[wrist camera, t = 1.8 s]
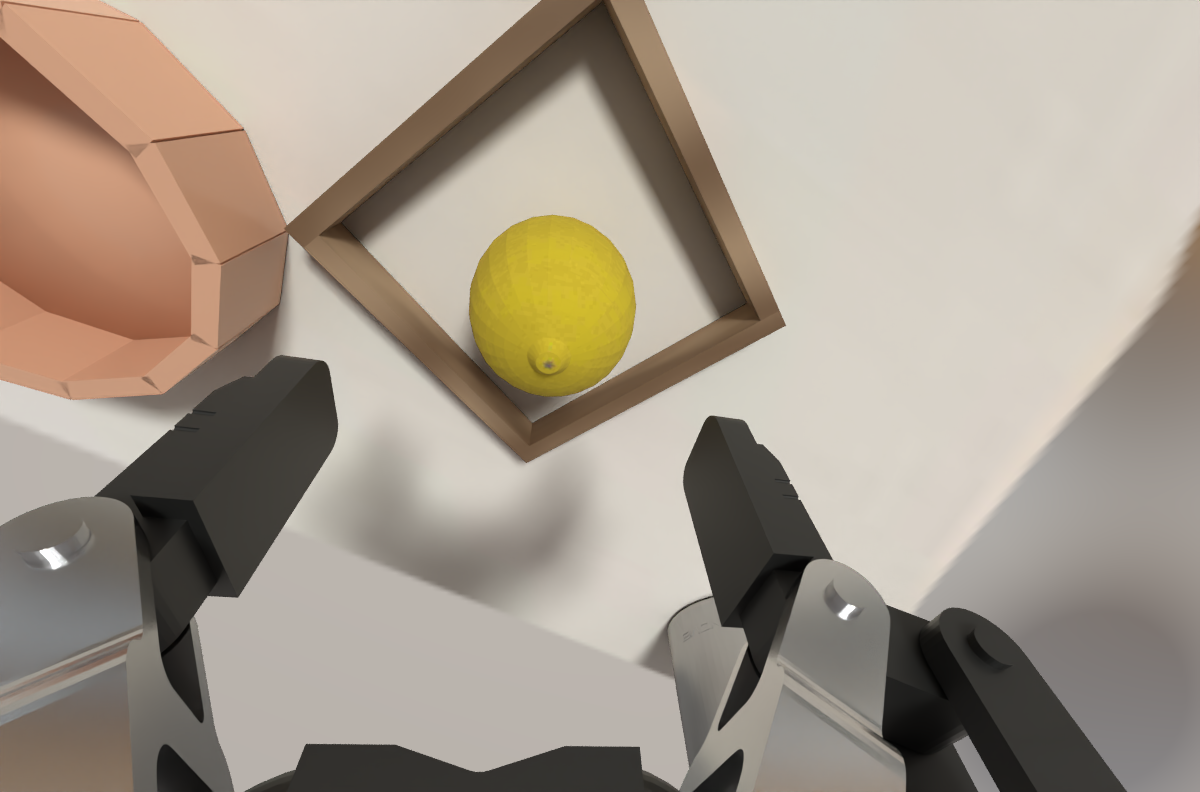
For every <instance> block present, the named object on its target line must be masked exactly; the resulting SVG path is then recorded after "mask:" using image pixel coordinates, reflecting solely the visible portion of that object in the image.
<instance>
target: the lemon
mask: <svg viewBox="0 0 1200 792" xmlns="http://www.w3.org/2000/svg"><path fill="white" fill-rule="evenodd" d="M635 310H636V303H635V295H634V287H633V280H632V278H631V275H630V273H629V270H628V268H627V265H626V263H625V260H624V258H623V257H622V255H621V254H620V253H619V251H618V250H617V249H616V247H615V246H614V245H613V244H612V242H611V241H610V240H609V239H608V238H607V237H606V236H604V235H603V234H602V233H600V232H599V231H598V230H597V229H595V228H594V227H593V226H591V225H589V224H586V223H584V222H582V221H579V220H577V219H575V218H571V217H564V216H557V215H548V216H539V217H532V218H530V219H527V220H525V221H522V222H520V223H517V224H515V225H513V226H511V227H510V228H509V229H507V230H506V231H505V232H503V233H502V234H501V235H500V236H498V237H497V238H496V239H495V240H494V241H493V242H492V244H491V245H490V246H489V248H488V249H487V251H486V252H485V253H484V255H483V256H482V258H481V259H480V261H479V263H478V266H477V269H476V272H475V275H474V277H473V280H472V283H471V288H470V304H469V316H470V322H471V326H472V331H473V335H474V339H475V342H476V344H477V346H478V348H479V350H480V352H481V354H482V356H483V358H484V359H485V361H486V363H487V364H488V365H489V366H490V367H491V368H492V369H493V371H494V372H495V373H496V374H497V375H498V376H500V377H501V378H502V379H504V380H505V381H507V382H508V383H509V384H511V385H512V386H514V387H516V388H518V389H520V390H523V391H525V392H527V393H530V394H535V395H540V396H545V397H547V396H566V395H570V394H575V393H578V392H581V391H583V390H585V389H587V388H590V387H592V386H594V385H596V384H597V383H598V382H599V381H601V380H602V379H603V378H605V377H606V376H607V375H608V374H609V373H610V372H611V371H612V369H613V368H614V367H615V366H616V364H617V363H618V362H619V360H620V359H621V358H622V356H623V354H624V352H625V349H626V347H627V345H628V342H629V340H630V338H631V335H632V331H633V325H634V318H635Z"/></svg>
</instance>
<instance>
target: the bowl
mask: <svg viewBox="0 0 1200 792" xmlns="http://www.w3.org/2000/svg"><path fill="white" fill-rule="evenodd" d="M242 129H243V127H242V126H241V125H240V124H239V123H238V122H237V121H236V120H235V119H234V118H233V117H232V116H231V115H230V114H229V113H228V112H227V111H226V109H225V108H224V107H223V106H222V105H221V104H220V103H219V102H218V101H217V100H216V99H215V98H214V97H213V96H212V95H211V94H210V93H209V92H208V91H207V90H206V89H205V88H204V87H203V86H202V85H201V84H200V82H199V81H198V80H197V79H196V78H195V77H194V76H193V75H192V74H191V73H190V72H189V71H188V70H187V69H186V68H185V67H184V66H183V65H182V64H181V63H180V62H179V61H178V60H177V59H176V58H175V56H174V55H173V54H172V53H171V52H170V51H169V50H168V49H167V48H166V47H165V46H164V45H163V44H162V43H161V42H160V41H159V40H158V39H157V38H156V37H155V36H154V35H153V34H152V33H151V32H150V31H149V29H148V28H147V27H146V26H145V25H144V24H143V23H140V22H139V20H137V19H135V18H133V17H131V16H129V15H127V14H125V13H123V12H121V11H119V10H117V9H115V8H113V7H111V6H109V5H107V4H105V3H103V2H101V1H99V0H0V380H3V381H7V382H10V383H14V384H17V385H21V386H24V387H28V388H31V389H35V390H39V391H42V392H46V393H49V394H53V395H56V396H60V397H63V398H67V399H70V400H71V399H72V400H79V399H95V398H111V397H126V396H142V395H158V394H164V393H165V392H167V391H168V390H169V389H171V388H172V387H173V386H175V385H176V384H177V383H179V382H180V381H181V380H183V379H184V378H185V377H187V376H188V375H189V374H191V373H192V372H193V371H195V370H196V369H197V368H199V367H200V366H201V365H203V364H204V363H205V362H207V361H208V360H209V359H211V358H212V357H213V356H215V355H216V354H217V353H219V352H220V351H221V350H223V349H224V348H225V347H227V346H228V345H229V344H231V343H232V342H233V341H235V340H236V339H237V338H238V337H239V336H241V335H242V334H243V333H244V332H246V331H247V330H248V329H249V328H250V327H252V326H253V325H254V324H255V323H257V322H258V321H259V320H260V319H261V318H263V317H264V316H265V315H266V314H268V313H269V312H270V311H271V310H273V309H274V308H275V307H276V306H277V305H279V303H280V296H281V288H282V280H283V272H284V264H285V256H286V247H287V239H288V233H287V232H286V231H285V230H284V228H285V227H286V223H285V221H284V219H283V216H282V214H281V212H280V210H279V207H278V205H277V203H276V200H275V198H274V196H273V193H272V191H271V189H270V187H269V184H268V182H267V180H266V177H265V175H264V173H263V171H262V168H261V166H260V164H259V161H258V159H257V157H256V154H255V152H254V150H253V148H252V145H251V143H250V141H249V138H248V136H247V134H246V131H241V130H242Z"/></svg>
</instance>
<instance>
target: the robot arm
mask: <svg viewBox="0 0 1200 792" xmlns="http://www.w3.org/2000/svg"><path fill="white" fill-rule="evenodd" d="M337 432H338V419H337V413H336V407H335V401H334V395H333V389H332V383H331V377H330V371H329V368H328V365H327V364H326V363H325V362H324V361H320V360H313V359H306V358H299V357H291V356H284V355H279V356H277V357H275V358H274V359H273V360H272V361H270V362H269V363H268V364H267V365H266V366H265V367H264V368H263V369H262V370H261V371H260V372H259V373H258V374H257V375H256V376H255V377H254V378H252V377H245V376H244V377H242V378H240V379H238V380H236V381H234V382H232V383H229V384H227V385H225V386H223V387H221V388H219V389H217V390H215V391H213V392H212V393H211V394H210V395H209V396H208V397H206V398H205V399H204V400H203V401H202V402H201V403H200V404H199V405H197V406H196V407H195V408H194V409H193V413H192V414H187V415H186V416H185V417H184V418H183V419H182V420H180V421H179V422H178V423H177V424H176V425H175V428H174V430H169V431H168V432H167V433H166V434H165V435H163V436H162V437H161V438H160V439H159V440H158V441H157V442H156V443H154V444H153V445H152V446H151V447H150V448H149V449H148V450H146V451H145V452H144V453H143V454H142V455H141V456H140V457H139V458H137V459H136V460H135V461H134V462H133V463H132V464H131V465H129V466H128V467H127V468H126V469H125V470H124V471H123V472H122V473H120V474H119V475H118V476H117V477H116V478H115V479H114V480H113V481H111V482H110V483H109V484H108V485H107V486H106V487H105V488H103V489H102V490H101V491H100V492H99V493H98V494H97V495H95V496H94V497H81V498H74V499H68V500H64V501H59V502H55V503H52V504H48V505H45V506H42V507H39V508H37V509H34V510H31V511H29V512H26V513H24V514H22V515H20V516H18V517H16V518H14V519H12V520H10V521H8V522H7V523H5V524H3V525H1V526H0V792H234V788H233V784H232V779H231V776H230V772H229V769H228V765H227V762H226V759H225V756H224V754H223V751H222V749H221V746H220V744H219V741H218V738H217V734H216V730H215V726H214V721H213V715H212V709H211V703H210V697H209V691H208V685H207V679H206V673H205V667H204V662H203V655H202V649H201V643H200V637H199V631H198V625H197V622H196V619H195V617H194V615H195V613H196V612H197V610H198V609H199V607H200V606H201V605H202V603H203V602H204V600H205V599H206V598H207V596H219V597H239V595H240V594H241V592H242V591H243V589H244V587H245V586H246V584H247V583H248V581H249V579H250V578H251V576H252V575H253V573H254V572H255V570H256V568H257V567H258V566H259V564H260V562H261V561H262V559H263V558H264V556H265V555H266V553H267V551H268V550H269V548H270V546H271V545H272V543H273V542H274V540H275V539H276V537H277V536H278V534H279V533H280V531H281V529H282V528H283V526H284V525H285V523H286V522H287V520H288V518H289V517H290V515H291V514H292V512H293V511H294V509H295V507H296V506H297V504H298V503H299V501H300V500H301V498H302V497H303V495H304V493H305V492H306V490H307V489H308V487H309V486H310V484H311V482H312V481H313V479H314V478H315V476H316V475H317V473H318V471H319V470H320V468H321V467H322V465H323V464H324V462H325V460H326V459H327V457H328V456H329V454H330V453H331V451H332V449H333V447H334V444H335V441H336V437H337ZM683 485H684V491H685V495H686V499H687V502H688V506H689V510H690V513H691V517H692V521H693V524H694V528H695V532H696V535H697V539H698V543H699V546H700V550H701V554H702V557H703V561H704V564H705V568H706V572H707V575H708V579H709V583H710V586H711V590H712V594H713V597H712V598H709V599H706V600H702V601H699V602H697V603H695V604H693V605H690V606H688V607H687V608H685V609H684V610H682V611H680V612H679V613H678V614H677V615H676V616H675V617H674V618H673V619H672V621H671V622H670V624H669V626H668V630H667V632H668V639H669V645H670V651H671V657H672V664H673V670H674V676H675V682H676V690H677V696H678V702H679V708H680V714H681V720H682V726H683V732H684V738H685V744H686V750H687V756H688V762H689V770H688V773H687V774H686V777H685V779H684V781H683V783H682V786H681V788H680V790H679V791H678V790H677V789H676V788H674V787H673V786H671V785H670V784H669V783H667V782H665V781H664V780H662V779H660V778H658V777H656V776H654V775H653V774H651V773H649V772H646V771H643V770H642V765H641V756H640V747H588V746H585V747H583V746H564V747H561V748H558V749H555V750H552V751H548V752H546V753H542V754H539V755H536V756H533V757H530V758H527V759H524V760H521V761H517V762H514V763H512V764H508V765H505V766H502V767H499V768H496V769H493V770H489V771H485V772H473V771H469V770H466V769H464V768H460V767H458V766H455V765H452V764H449V763H446V762H443V761H441V760H437V759H435V758H432V757H429V756H426V755H423V754H420V753H417V752H415V751H412V750H409V749H406V748H403V747H400V746H397V745H356V744H355V745H354V744H353V745H352V744H351V745H350V744H348V745H347V744H306V745H305V747H304V750H303V752H302V755H301V758H300V760H299V762H298V765H297V768H296V770H293V771H290V772H287V773H284V774H281V775H279V776H276V777H274V778H272V779H269V780H267V781H264V782H262V783H260V784H258V785H256V786H254V787H252V788H250V789H248V790H246V791H245V792H978V791H977V789H976V787H975V785H974V783H973V781H972V779H971V777H970V776H969V774H968V772H967V770H966V768H965V766H964V764H963V762H962V760H961V759H960V757H959V755H958V753H957V751H956V749H955V747H954V745H953V743H955V742H957V741H959V740H961V739H962V738H964V737H966V736H968V735H969V737H970V739H971V741H972V743H973V744H974V746H975V748H976V750H977V752H978V753H979V755H980V757H981V759H982V760H983V762H984V764H985V766H986V768H987V769H988V771H989V773H990V775H991V777H992V778H993V780H994V782H995V783H996V785H997V787H998V789H999V791H1000V792H1127V791H1126V790H1125V789H1124V787H1123V786H1122V785H1121V783H1120V782H1119V780H1118V779H1117V778H1116V776H1115V775H1114V774H1113V772H1112V771H1111V770H1110V768H1109V767H1108V766H1107V764H1106V763H1105V762H1104V760H1103V759H1102V757H1101V756H1100V755H1099V754H1098V752H1097V751H1096V749H1095V748H1094V747H1093V745H1092V744H1091V743H1090V742H1089V740H1088V739H1087V737H1086V736H1085V734H1084V733H1083V732H1082V730H1081V729H1080V728H1079V726H1078V725H1077V724H1076V722H1075V721H1074V720H1073V718H1072V717H1071V716H1070V714H1069V713H1068V712H1067V710H1066V709H1065V707H1064V706H1063V705H1062V703H1061V702H1060V701H1059V699H1058V698H1057V697H1056V695H1055V694H1054V693H1053V691H1052V690H1051V689H1050V687H1049V686H1048V685H1047V683H1046V682H1045V680H1044V679H1043V678H1042V676H1041V675H1040V674H1039V672H1038V671H1037V670H1036V668H1035V667H1034V666H1033V664H1032V663H1031V662H1030V660H1029V659H1028V657H1027V656H1026V655H1025V654H1024V652H1023V651H1022V650H1021V649H1020V647H1019V646H1018V645H1017V644H1016V643H1015V642H1014V641H1013V640H1012V639H1011V638H1010V637H1009V636H1008V635H1007V634H1006V633H1004V632H1003V631H1002V630H1001V629H1000V628H998V627H997V626H996V625H994V624H993V623H991V622H990V621H988V620H987V619H985V618H983V617H982V616H980V615H978V614H976V613H973V612H971V611H968V610H966V609H961V608H948V609H946V610H944V611H943V612H941V614H939V615H938V616H937V617H935V618H934V619H933V620H932V621H931V622H930V621H927V620H925V619H922V618H920V617H917V616H914V615H912V614H909V613H906V612H904V611H901V610H898V609H896V608H893V607H891V606H888V605H886V604H885V602H884V600H883V598H882V597H881V595H880V594H879V593H878V591H877V590H876V589H875V588H874V587H873V585H872V584H871V583H870V582H869V581H868V580H867V579H866V578H864V577H863V576H862V575H861V574H859V573H858V572H857V571H855V570H853V569H852V568H850V567H848V566H846V565H845V564H842V563H840V562H837V561H833V559H832V557H831V555H830V553H829V552H828V550H827V548H826V546H825V544H824V542H823V541H822V539H821V537H820V535H819V533H818V531H817V530H816V528H815V526H814V524H813V522H812V520H811V518H810V517H809V515H808V513H807V511H806V509H805V507H804V506H803V504H802V502H801V500H798V494H797V493H796V491H795V489H794V487H793V485H792V484H790V480H789V478H788V476H787V474H786V472H785V470H784V469H783V467H782V465H781V463H780V462H779V461H778V460H777V458H776V457H775V456H774V455H773V454H772V453H771V452H770V451H769V450H768V449H767V448H766V447H765V446H764V445H761V444H757V443H756V441H755V439H754V437H753V435H752V433H751V431H750V429H749V427H748V425H747V424H746V422H745V421H743V420H740V419H733V418H725V417H718V416H709V417H708V418H707V419H706V420H705V422H704V424H703V426H702V429H701V431H700V433H699V435H698V438H697V440H696V442H695V445H694V447H693V449H692V451H691V454H690V456H689V458H688V460H687V463H686V466H685V470H684V477H683Z"/></svg>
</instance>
